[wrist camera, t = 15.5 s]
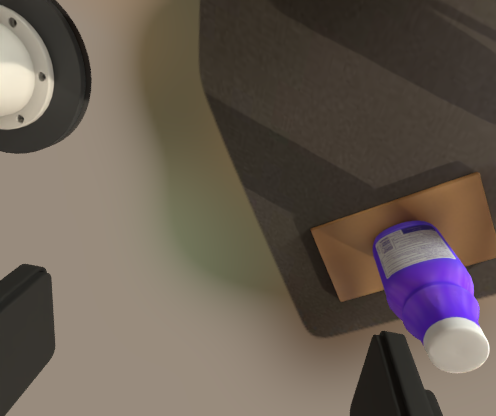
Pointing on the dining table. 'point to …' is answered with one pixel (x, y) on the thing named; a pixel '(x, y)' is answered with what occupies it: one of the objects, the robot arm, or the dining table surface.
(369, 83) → the dining table surface
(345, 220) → the mat
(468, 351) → the bottle
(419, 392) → the robot arm
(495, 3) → the dining table surface
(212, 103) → the dining table surface
